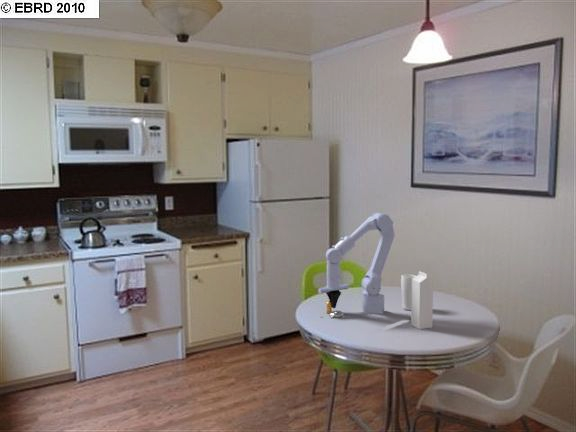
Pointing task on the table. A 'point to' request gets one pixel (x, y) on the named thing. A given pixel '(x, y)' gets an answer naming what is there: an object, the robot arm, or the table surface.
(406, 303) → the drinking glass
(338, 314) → the dial
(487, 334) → the table surface
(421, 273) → the milk
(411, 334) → the table surface
